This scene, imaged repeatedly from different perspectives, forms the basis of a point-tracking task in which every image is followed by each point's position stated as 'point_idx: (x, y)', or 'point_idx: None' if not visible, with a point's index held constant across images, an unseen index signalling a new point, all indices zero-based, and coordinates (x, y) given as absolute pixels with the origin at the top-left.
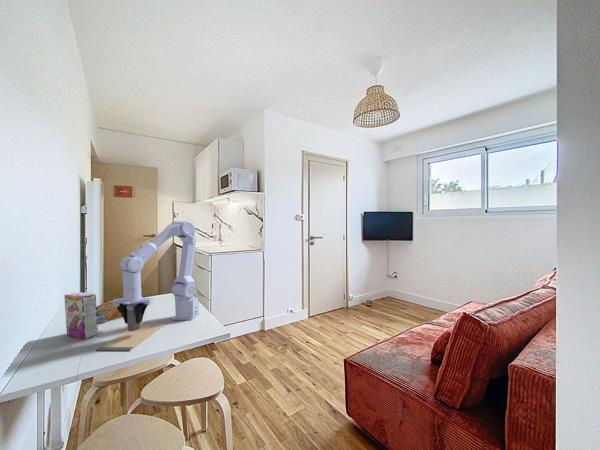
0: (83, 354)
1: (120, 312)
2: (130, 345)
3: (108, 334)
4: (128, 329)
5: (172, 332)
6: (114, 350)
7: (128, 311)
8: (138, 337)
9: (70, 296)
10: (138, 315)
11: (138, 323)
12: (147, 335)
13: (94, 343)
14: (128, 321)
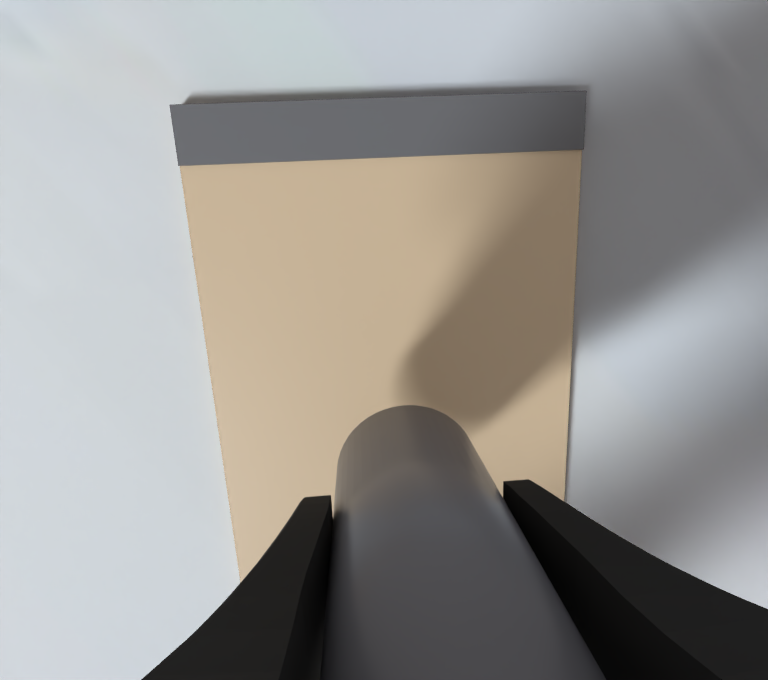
0: (666, 14)
1: (764, 611)
2: (252, 209)
3: (711, 446)
4: (437, 417)
5: (31, 541)
6: (366, 102)
7: (516, 665)
8: (310, 391)
9: None
10: (231, 599)
11: (304, 500)
12: (241, 441)
13: (721, 258)
14: (456, 478)
